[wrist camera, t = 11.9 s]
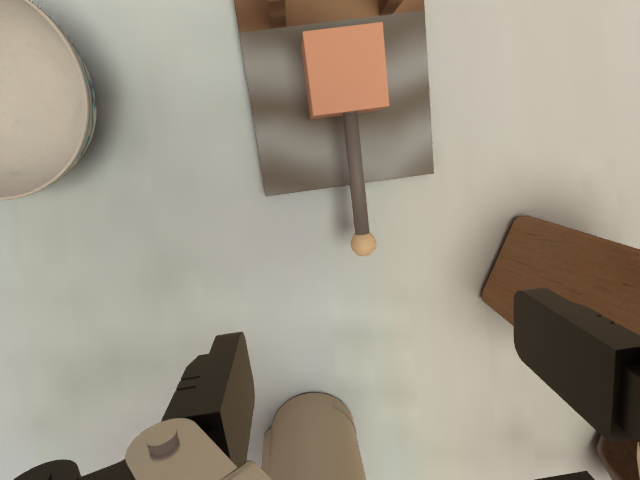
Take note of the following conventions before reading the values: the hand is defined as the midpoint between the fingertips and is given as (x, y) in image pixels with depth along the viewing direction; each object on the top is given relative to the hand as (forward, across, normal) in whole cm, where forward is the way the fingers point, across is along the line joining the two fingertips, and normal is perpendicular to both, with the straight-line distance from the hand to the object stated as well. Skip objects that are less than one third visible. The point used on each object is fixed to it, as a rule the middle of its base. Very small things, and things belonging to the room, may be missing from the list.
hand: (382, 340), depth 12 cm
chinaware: (+28, +23, -12) cm, 38 cm away
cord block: (+27, -3, -5) cm, 27 cm away
